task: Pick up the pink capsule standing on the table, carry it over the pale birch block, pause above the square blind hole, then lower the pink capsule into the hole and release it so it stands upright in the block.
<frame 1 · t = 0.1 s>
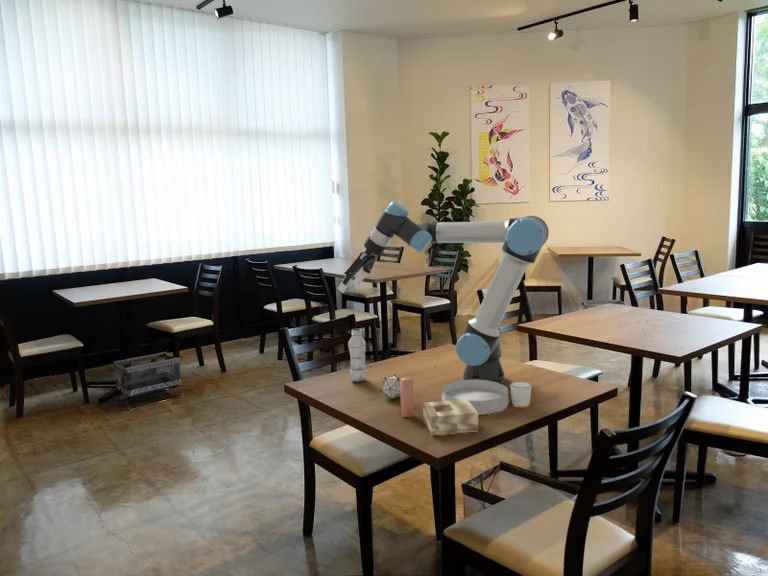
hand: (348, 287, 226), 36 cm above the table, tool tilted 35°, fingers open, 13 cm apart
dish: (475, 404, 204), on the table
game die: (393, 398, 211), on the table
pink capsule: (407, 415, 195), on the table
plastic bottle: (358, 381, 231), on the table
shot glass: (520, 405, 200), on the table
birch block: (450, 426, 184), on the table
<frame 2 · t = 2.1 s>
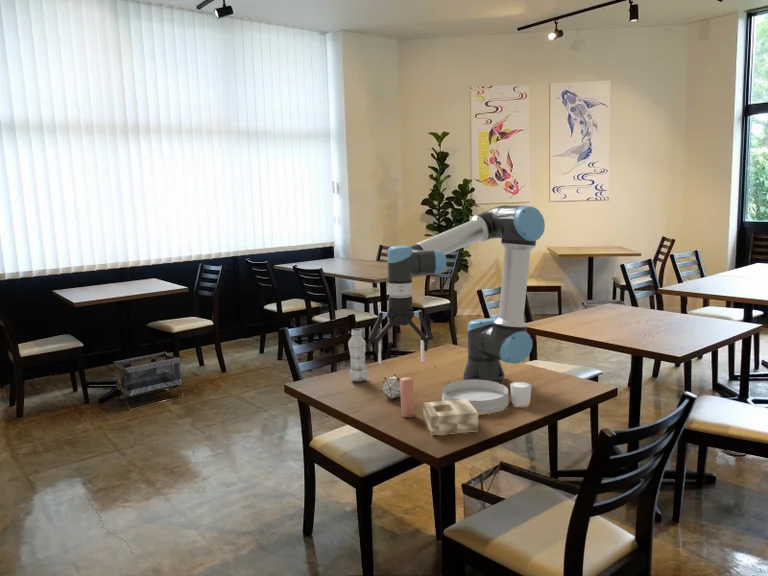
hand: (401, 362, 193), 17 cm above the table, tool pointing down, fingers open, 13 cm apart
nothing on the table moved.
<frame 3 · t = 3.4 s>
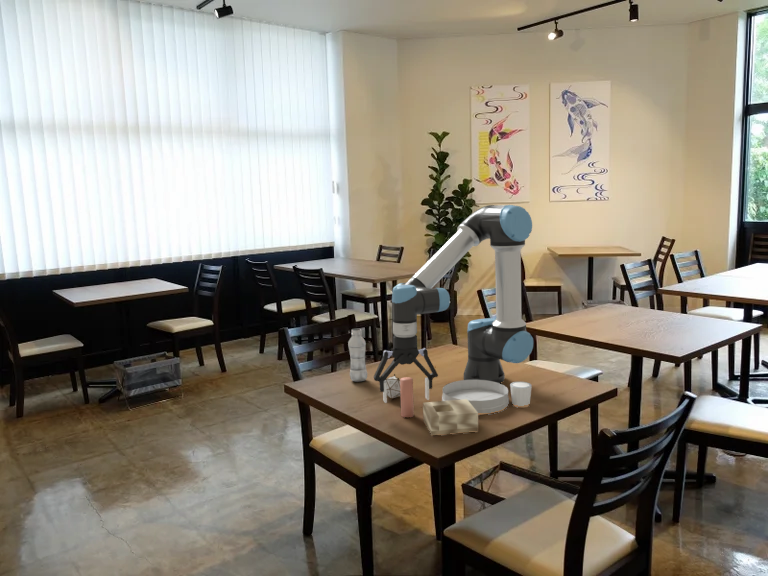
hand: (406, 400, 194), 5 cm above the table, tool pointing down, fingers open, 13 cm apart
nothing on the table moved.
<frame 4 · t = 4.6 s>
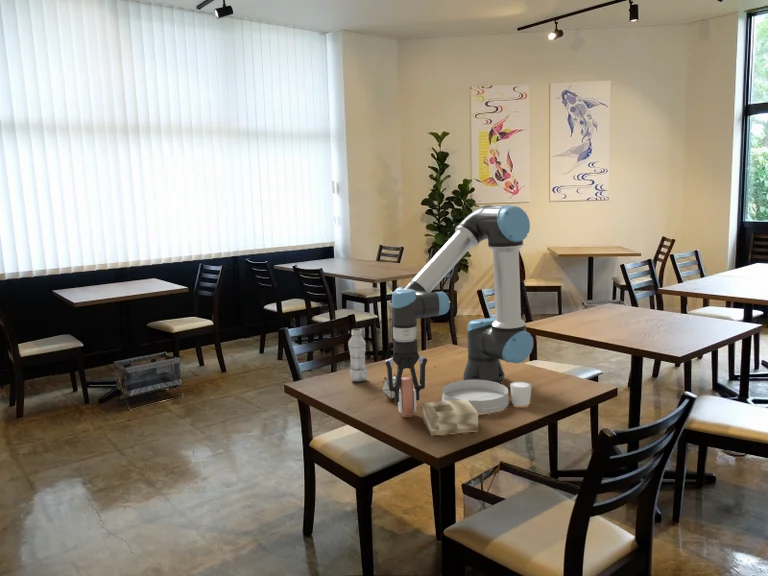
hand: (407, 410, 194), 2 cm above the table, tool pointing down, fingers closed on pink capsule, 4 cm apart
pink capsule: (407, 415, 195), on the table, touching gripper
everything else where it was.
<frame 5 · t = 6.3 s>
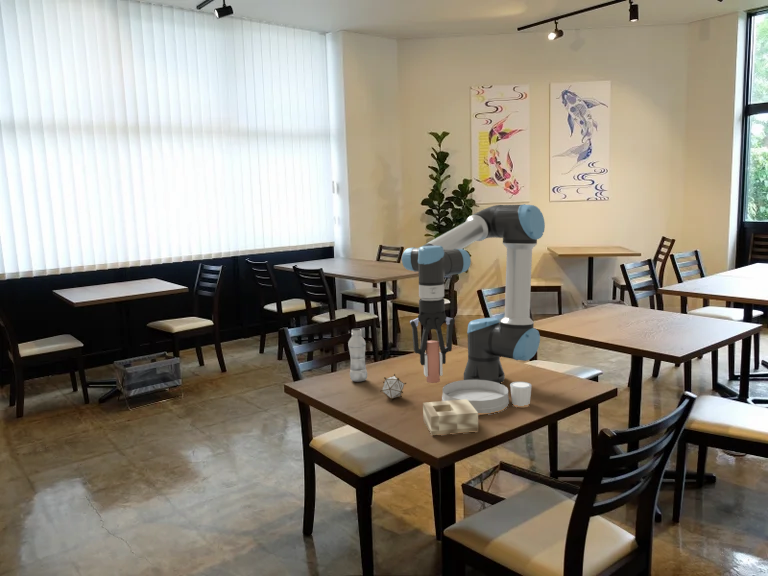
hand: (433, 374, 184), 16 cm above the table, tool pointing down, fingers closed on pink capsule, 4 cm apart
pink capsule: (433, 380, 184), point 14 cm above the table, touching gripper
everything else where it was.
when the fingers open (7 cm above the table, at t = 8.5 s): pink capsule drops 1 cm, resting on birch block.
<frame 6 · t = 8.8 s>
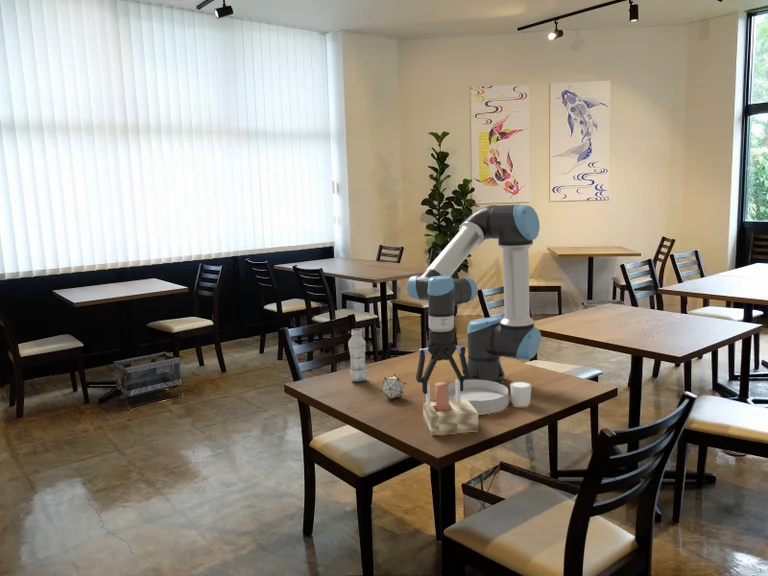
hand: (443, 402, 183), 8 cm above the table, tool pointing down, fingers open, 8 cm apart
pink capsule: (443, 422, 184), point 2 cm above the table, touching birch block
everything else where it was.
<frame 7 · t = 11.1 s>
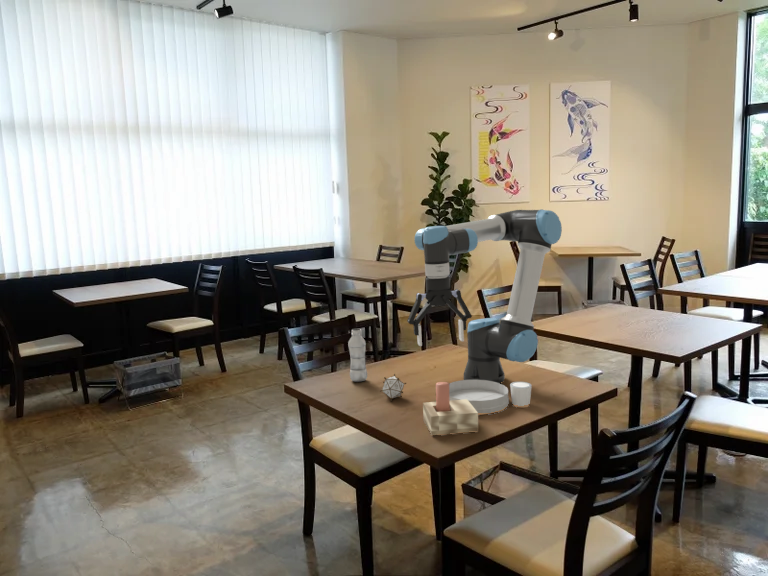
hand: (440, 342, 193), 23 cm above the table, tool pointing down, fingers open, 13 cm apart
nothing on the table moved.
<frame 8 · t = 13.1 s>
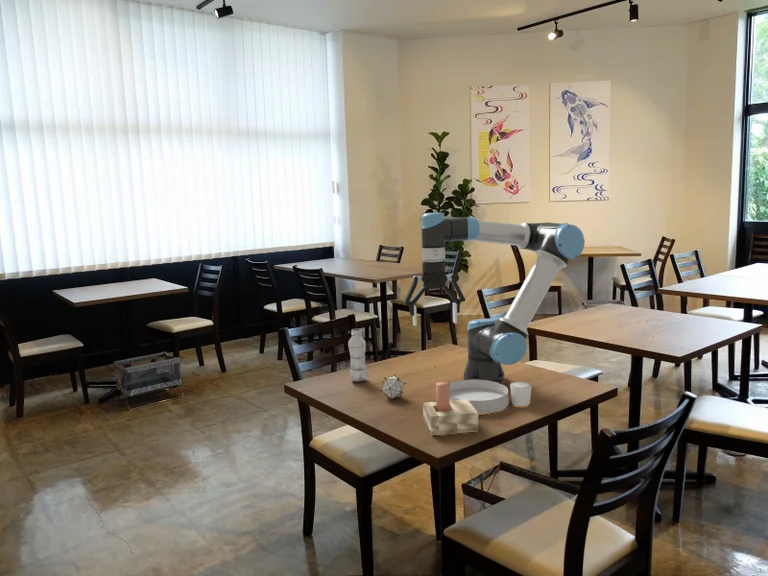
hand: (435, 323, 203), 27 cm above the table, tool pointing down, fingers open, 13 cm apart
nothing on the table moved.
at the end: pink capsule 0.1 cm from the target spot on the birch block, point 1.5 cm above the birch block's base; pink capsule tilted 0°; the gripper is holding nothing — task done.
